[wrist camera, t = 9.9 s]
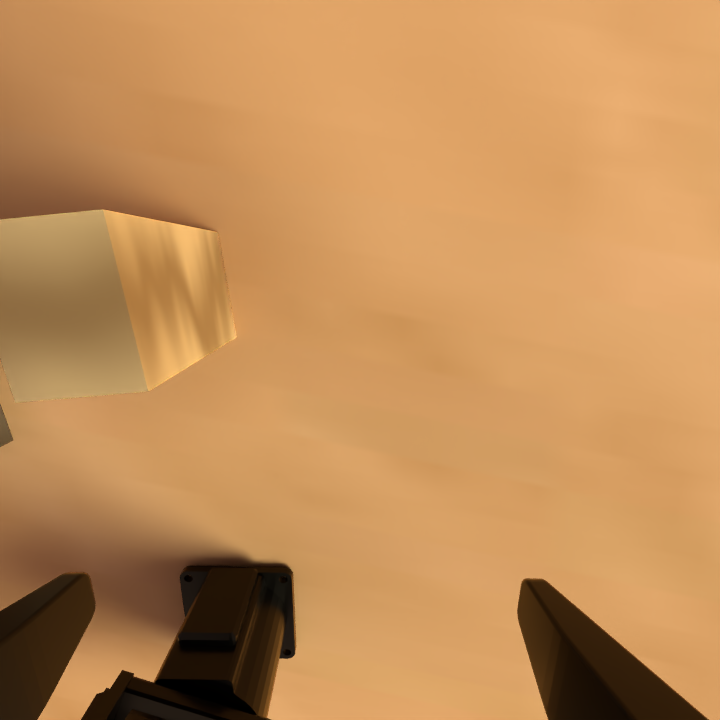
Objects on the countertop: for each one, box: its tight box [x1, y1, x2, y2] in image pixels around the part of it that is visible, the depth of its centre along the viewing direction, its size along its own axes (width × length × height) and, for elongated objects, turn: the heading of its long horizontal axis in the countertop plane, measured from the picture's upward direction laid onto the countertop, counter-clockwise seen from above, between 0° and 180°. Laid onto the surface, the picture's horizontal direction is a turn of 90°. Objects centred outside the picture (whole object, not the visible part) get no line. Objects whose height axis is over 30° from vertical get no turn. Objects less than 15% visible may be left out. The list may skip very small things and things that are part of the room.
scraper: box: [0, 209, 237, 447], centre depth 14 cm, size 14×15×8 cm
